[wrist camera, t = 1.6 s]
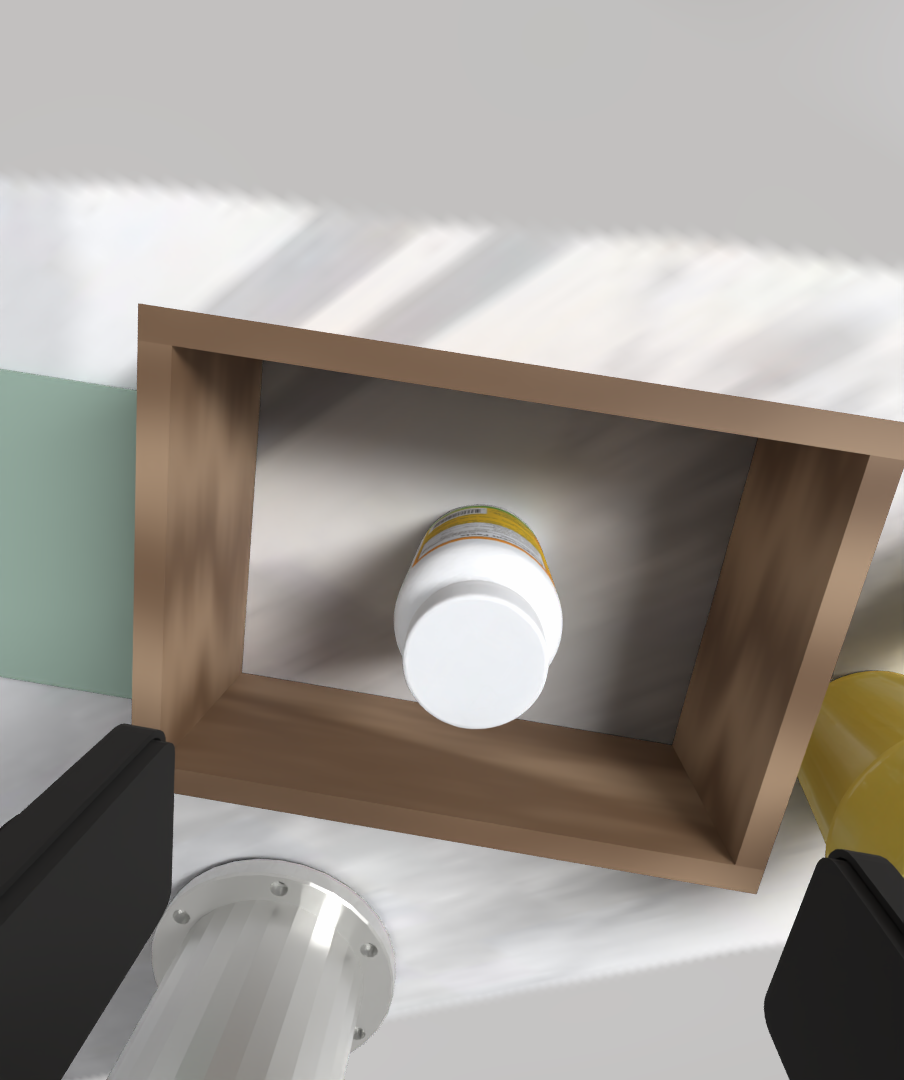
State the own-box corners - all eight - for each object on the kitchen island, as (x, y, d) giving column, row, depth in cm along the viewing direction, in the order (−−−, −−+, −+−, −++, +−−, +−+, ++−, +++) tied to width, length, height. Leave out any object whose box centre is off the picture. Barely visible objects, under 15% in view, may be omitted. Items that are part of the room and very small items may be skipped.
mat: (187, 702, 28) (182, 707, 27) (2, 670, 28) (-7, 675, 27) (200, 400, 24) (194, 400, 24) (-12, 366, 24) (-22, 366, 24)
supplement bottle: (504, 643, 26) (512, 785, 16) (396, 587, 26) (342, 699, 16) (566, 540, 25) (616, 630, 15) (454, 479, 24) (432, 532, 15)
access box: (688, 767, 27) (756, 894, 20) (219, 688, 27) (130, 785, 20) (791, 415, 23) (918, 424, 16) (240, 330, 23) (138, 303, 17)
